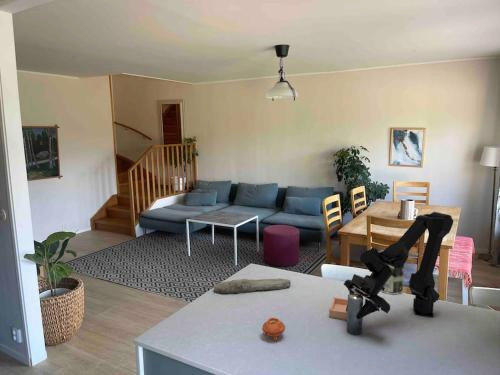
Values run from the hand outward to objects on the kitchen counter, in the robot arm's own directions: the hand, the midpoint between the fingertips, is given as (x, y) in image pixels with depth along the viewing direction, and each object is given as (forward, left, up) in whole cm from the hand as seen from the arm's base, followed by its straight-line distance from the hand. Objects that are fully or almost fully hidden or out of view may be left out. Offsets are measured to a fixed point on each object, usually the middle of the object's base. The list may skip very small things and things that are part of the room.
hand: (351, 314), depth 130 cm
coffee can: (-13, -42, -7) cm, 44 cm away
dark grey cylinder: (-1, -1, -7) cm, 7 cm away
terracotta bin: (+3, -14, -7) cm, 16 cm away
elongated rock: (+45, -24, -7) cm, 51 cm away
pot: (+25, +11, -7) cm, 28 cm away
